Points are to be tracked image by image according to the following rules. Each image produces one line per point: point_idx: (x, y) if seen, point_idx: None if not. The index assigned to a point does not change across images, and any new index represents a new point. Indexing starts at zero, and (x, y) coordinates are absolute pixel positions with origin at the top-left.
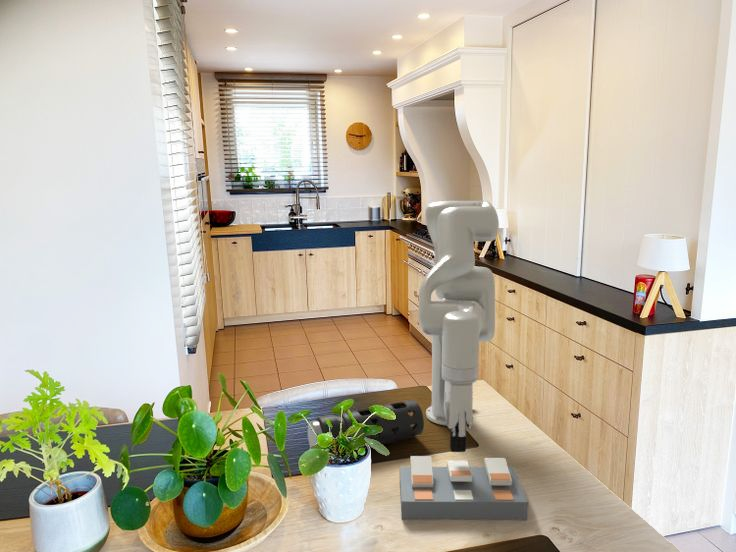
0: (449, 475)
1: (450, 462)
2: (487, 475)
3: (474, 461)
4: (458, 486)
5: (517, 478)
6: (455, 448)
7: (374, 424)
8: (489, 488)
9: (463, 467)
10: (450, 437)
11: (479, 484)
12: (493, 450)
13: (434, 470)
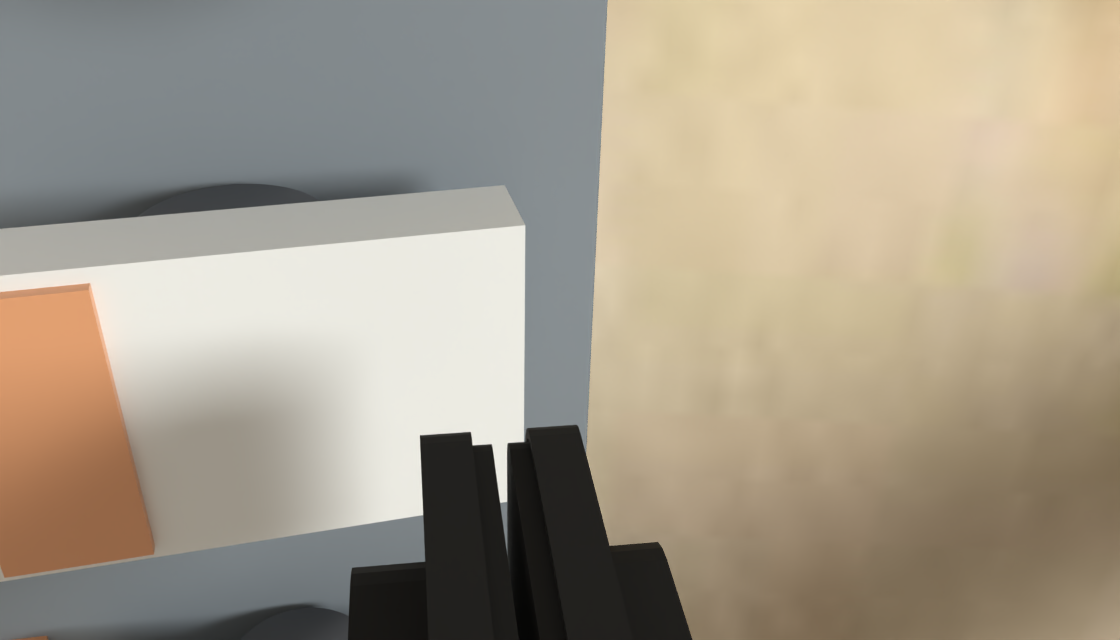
0: (108, 227)
1: (453, 281)
2: (331, 623)
3: (945, 382)
4: None
5: None
6: (355, 578)
7: None
8: (101, 610)
9: (281, 464)
10: (563, 628)
11: None
12: (1082, 536)
13: None
